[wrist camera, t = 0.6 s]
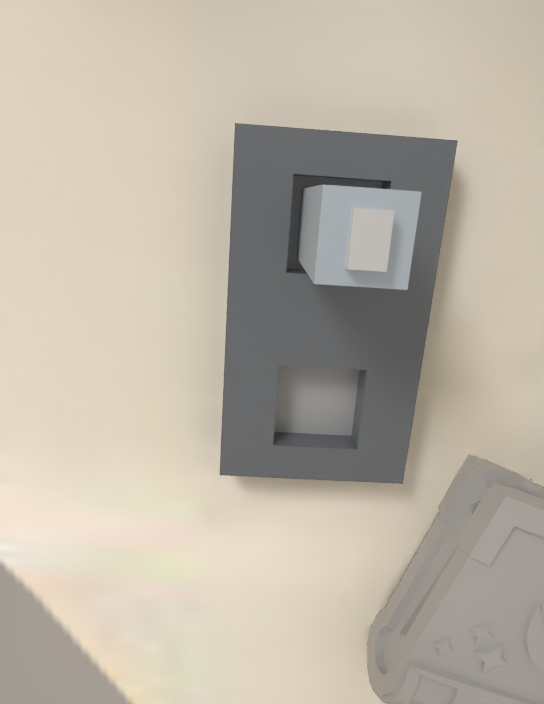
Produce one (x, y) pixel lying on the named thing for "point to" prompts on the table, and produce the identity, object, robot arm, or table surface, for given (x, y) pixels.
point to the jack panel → (323, 311)
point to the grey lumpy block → (469, 600)
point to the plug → (358, 235)
